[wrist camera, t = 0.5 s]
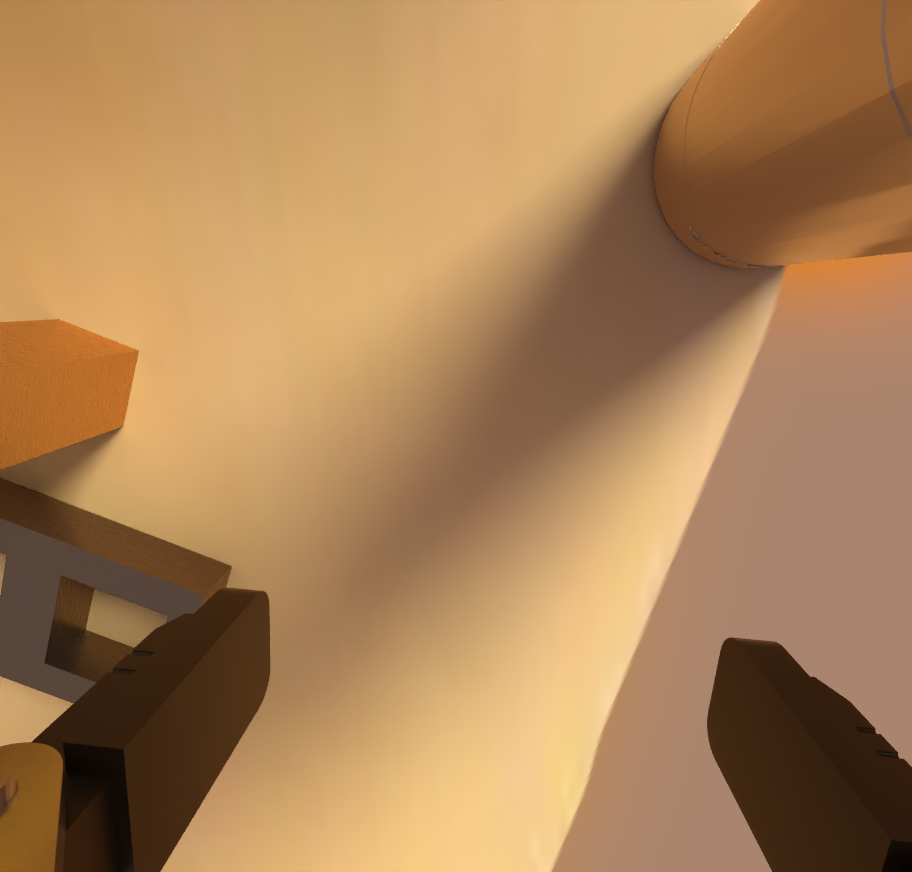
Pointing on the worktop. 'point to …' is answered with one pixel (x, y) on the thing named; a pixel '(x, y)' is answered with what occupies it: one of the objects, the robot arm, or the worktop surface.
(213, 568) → the block with square holes
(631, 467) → the worktop surface
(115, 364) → the wooden peg
